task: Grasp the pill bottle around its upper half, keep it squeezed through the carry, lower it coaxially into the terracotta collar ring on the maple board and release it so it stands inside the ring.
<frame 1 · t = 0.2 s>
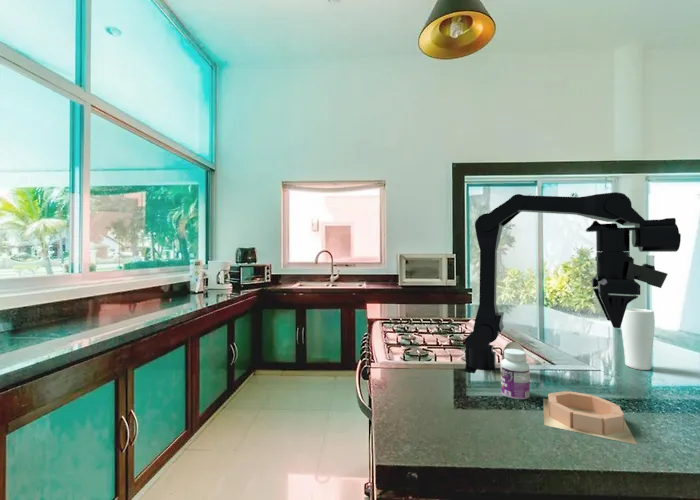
hand: (613, 324, 73), 14 cm above the counter, fingers open, 9 cm apart
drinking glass: (638, 368, 88), on the counter
egg: (514, 374, 83), on the counter
collar: (583, 418, 58), resting on board
board: (583, 424, 58), on the counter
pill bottle: (515, 399, 69), on the counter
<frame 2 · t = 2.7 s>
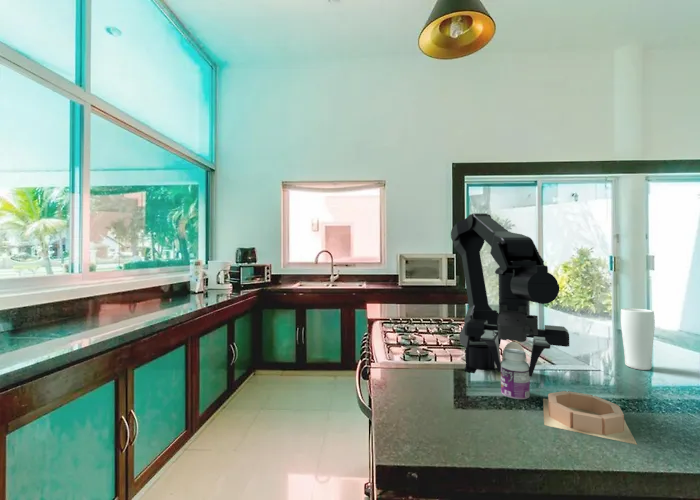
hand: (514, 373, 69), 5 cm above the counter, fingers closed on pill bottle, 5 cm apart
pill bottle: (515, 399, 69), on the counter, touching gripper
everything else where it was.
when the fingers open (7 cm above the counter, at t = 6.6 s): pill bottle stays where it is, resting on board.
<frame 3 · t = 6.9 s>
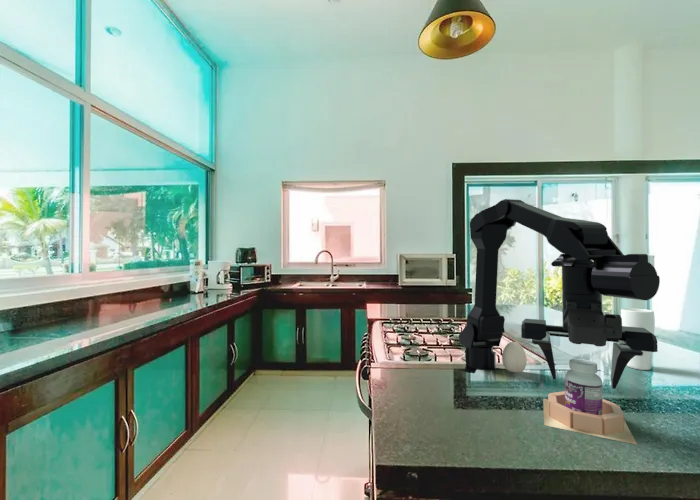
hand: (582, 383, 58), 7 cm above the counter, fingers open, 8 cm apart
pill bottle: (583, 419, 58), point 1 cm above the counter, touching board
everything else where it was.
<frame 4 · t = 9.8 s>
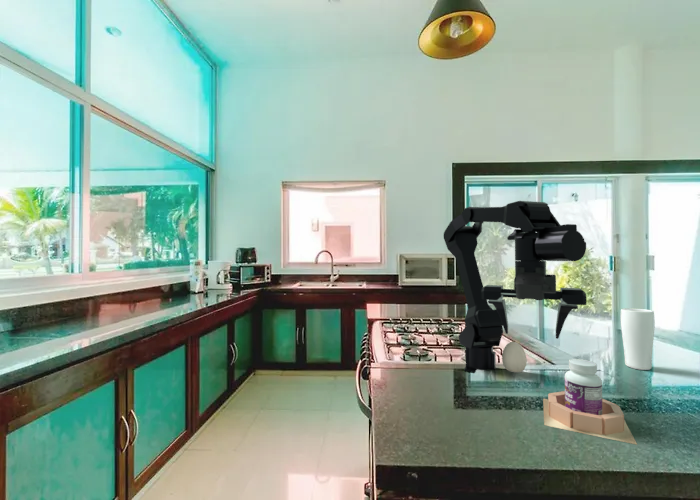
hand: (531, 335, 70), 13 cm above the counter, fingers open, 9 cm apart
nothing on the counter moved.
at the end: pill bottle 0.1 cm off-centre on the collar, point 0.0 cm above the collar's base; pill bottle tilted 0°; the gripper is holding nothing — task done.
